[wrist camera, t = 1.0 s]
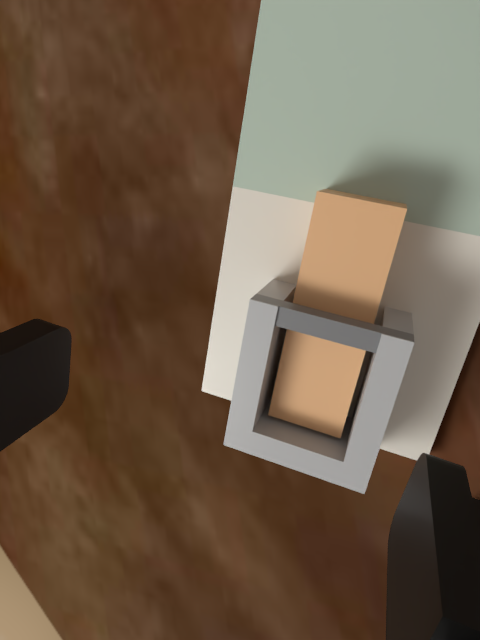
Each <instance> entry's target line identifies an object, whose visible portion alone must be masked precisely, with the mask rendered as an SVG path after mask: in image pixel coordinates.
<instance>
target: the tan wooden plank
mask: <svg viewBox="0 0 480 640" xmlns="http://www.w3.org/2000/svg"><path fill="white" fill-rule="evenodd" d="M406 212H407V205H406V204H403V203H398V202H393V201H387V200H382V199H377V198H372V197H367V196H362V195H356V194H351V193H346V192H341V191H336V190H330V189H323V190H319V191H317V193H316V198H315V202H314V207H313V211H312V216H311V220H310V225H309V230H308V234H307V239H306V243H305V248H304V253H303V257H302V262H301V266H300V271H299V276H298V280H297V285H296V289H295V294H294V298H293V303H294V304H298V305H302V306H306V307H310V308H314V309H318V310H322V311H325V312H329V313H333V314H337V315H341V316H345V317H349V318H352V319H356V320H360V321H364V322H368V323H372V324H374V321H375V318H376V315H377V311H378V308H379V304H380V301H381V297H382V294H383V291H384V287H385V284H386V280H387V277H388V273H389V270H390V267H391V263H392V260H393V256H394V253H395V249H396V246H397V243H398V239H399V236H400V232H401V229H402V225H403V222H404V218H405V215H406ZM365 352H366V351H365V350H362V349H358V348H354V347H351V346H347V345H343V344H340V343H336V342H332V341H329V340H325V339H321V338H318V337H314V336H310V335H307V334H303V333H300V332H296V331H292V330H289V329H287V331H286V335H285V340H284V344H283V349H282V354H281V358H280V363H279V367H278V372H277V377H276V381H275V386H274V390H273V395H272V399H271V404H270V409H269V413H268V415H269V416H272V417H276V418H279V419H282V420H285V421H288V422H291V423H294V424H297V425H300V426H303V427H306V428H309V429H313V430H316V431H319V432H322V433H325V434H328V435H331V436H334V437H337V438H341V435H342V431H343V428H344V424H345V421H346V418H347V414H348V411H349V407H350V404H351V400H352V397H353V394H354V390H355V387H356V383H357V380H358V376H359V373H360V370H361V366H362V363H363V359H364V356H365Z"/></svg>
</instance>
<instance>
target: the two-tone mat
mask: <svg viewBox="0 0 480 640" xmlns="http://www.w3.org/2000/svg"><path fill="white" fill-rule="evenodd" d="M323 189H330V190H336V191H341V192H346V193H351V194H356V195H362V196H367V197H372V198H377V199H382V200H387V201H393V202H398V203H403V204H406V205H407V212H406V215H405V218H404V222H403V225H402V229H401V232H400V236H399V239H398V243H397V246H396V249H395V253H394V256H393V260H392V263H391V267H390V270H389V273H388V277H387V280H386V284H385V287H384V291H383V294H382V297H381V301H380V304H379V308H378V311H377V315H376V318H375V321H374V324H372V323H368V322H364V321H360V320H356V319H352V318H349V317H345V316H341V315H337V314H333V313H329V312H325V311H322V310H318V309H314V308H310V307H306V306H302V305H298V304H294V303H293V298H294V294H295V289H296V285H297V280H298V276H299V271H300V266H301V262H302V257H303V253H304V248H305V243H306V239H307V234H308V230H309V225H310V220H311V216H312V211H313V207H314V202H315V198H316V193H317V191H319V190H323ZM479 322H480V0H261V6H260V12H259V19H258V25H257V32H256V38H255V45H254V51H253V58H252V64H251V71H250V78H249V84H248V91H247V97H246V104H245V110H244V117H243V123H242V130H241V136H240V143H239V150H238V156H237V163H236V169H235V176H234V182H233V189H232V195H231V202H230V208H229V215H228V221H227V228H226V235H225V241H224V248H223V254H222V261H221V267H220V274H219V280H218V287H217V293H216V300H215V306H214V313H213V320H212V326H211V333H210V339H209V346H208V352H207V359H206V365H205V372H204V378H203V385H202V391H203V392H206V393H209V394H212V395H216V396H219V397H222V398H225V399H228V400H231V406H230V412H229V417H228V423H227V428H226V434H225V439H224V445H225V446H228V447H231V448H234V449H237V450H240V451H242V452H245V453H248V454H251V455H254V456H257V457H260V458H262V459H265V460H268V461H271V462H274V463H277V464H280V465H283V466H285V467H288V468H291V469H294V470H297V471H300V472H303V473H305V474H308V475H311V476H314V477H317V478H320V479H323V480H325V481H328V482H331V483H334V484H337V485H340V486H343V487H345V488H348V489H351V490H354V491H357V492H360V493H363V494H365V491H366V488H367V485H368V482H369V479H370V476H371V472H372V469H373V466H374V463H375V460H376V457H377V454H378V451H379V448H380V449H383V450H386V451H389V452H392V453H395V454H398V455H401V456H405V457H408V458H411V459H414V460H418V458H419V457H420V455H421V454H422V453H426V454H429V453H430V451H431V448H432V445H433V443H434V440H435V437H436V435H437V432H438V430H439V427H440V424H441V422H442V419H443V416H444V414H445V411H446V409H447V406H448V403H449V401H450V398H451V395H452V393H453V390H454V388H455V385H456V382H457V380H458V377H459V374H460V372H461V369H462V367H463V364H464V361H465V359H466V356H467V353H468V351H469V348H470V346H471V343H472V340H473V338H474V335H475V332H476V330H477V327H478V325H479ZM287 329H289V330H292V331H296V332H300V333H303V334H307V335H310V336H314V337H318V338H321V339H325V340H329V341H332V342H336V343H340V344H343V345H347V346H351V347H354V348H358V349H362V350H365V351H366V352H365V356H364V359H363V363H362V366H361V370H360V373H359V376H358V380H357V383H356V387H355V390H354V394H353V397H352V400H351V404H350V407H349V411H348V414H347V418H346V421H345V424H344V428H343V431H342V435H341V438H337V437H334V436H331V435H328V434H325V433H322V432H319V431H316V430H313V429H309V428H306V427H303V426H300V425H297V424H294V423H291V422H288V421H285V420H282V419H279V418H276V417H272V416H269V415H268V413H269V409H270V404H271V399H272V395H273V390H274V386H275V381H276V377H277V372H278V367H279V363H280V358H281V354H282V349H283V344H284V340H285V335H286V331H287Z"/></svg>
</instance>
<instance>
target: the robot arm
mask: <svg viewBox="0 0 480 640" xmlns="http://www.w3.org/2000/svg"><path fill="white" fill-rule="evenodd" d="M70 356H71V334H70V332H69V330H68V329H66V328H64V327H61V326H58V325H55V324H52V323H49V322H47V321H44V320H41V319H33V320H31V321H28V322H26V323H23V324H21V325H19V326H16V327H14V328H11V329H9V330H7V331H4V332H2V333H0V451H1V450H3V449H4V448H6V447H7V446H8V445H10V444H11V443H13V442H14V441H15V440H17V439H18V438H20V437H21V436H22V435H24V434H25V433H27V432H28V431H29V430H31V429H32V428H34V427H35V426H36V425H38V424H39V423H41V422H42V421H43V420H45V419H46V418H47V417H49V416H50V415H52V414H53V413H54V412H56V411H57V410H58V409H59V407H60V406H61V405H62V403H63V401H64V400H65V397H66V395H67V392H68V386H69V372H70ZM386 640H480V500H477V499H475V498H472V496H471V492H470V487H469V483H468V478H467V474H466V470H465V468H464V467H463V466H461V465H458V464H455V463H452V462H449V461H446V460H444V459H441V458H438V457H435V456H432V455H429V454H426V453H422V454H421V455H420V457H419V458H418V460H417V462H416V464H415V467H414V469H413V472H412V474H411V476H410V479H409V481H408V483H407V486H406V488H405V490H404V493H403V495H402V498H401V500H400V502H399V505H398V507H397V509H396V512H395V514H394V517H393V521H392V524H391V528H390V533H389V540H388V566H387V611H386Z"/></svg>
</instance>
